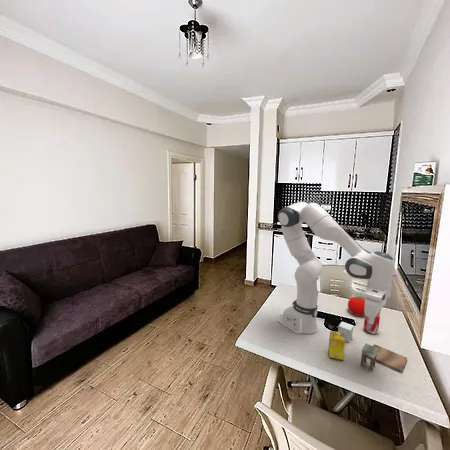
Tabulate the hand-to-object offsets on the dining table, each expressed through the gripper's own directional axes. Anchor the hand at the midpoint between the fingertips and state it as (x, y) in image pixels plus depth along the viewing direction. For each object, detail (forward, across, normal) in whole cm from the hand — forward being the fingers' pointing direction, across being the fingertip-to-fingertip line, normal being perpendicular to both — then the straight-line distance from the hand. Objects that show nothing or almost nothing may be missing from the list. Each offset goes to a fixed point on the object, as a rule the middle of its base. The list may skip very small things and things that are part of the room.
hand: (374, 319), depth 110 cm
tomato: (+23, -47, -19) cm, 56 cm away
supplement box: (+23, +4, -13) cm, 27 cm away
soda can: (+23, -31, -7) cm, 39 cm away
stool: (+23, 0, 0) cm, 23 cm away
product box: (+23, -14, -15) cm, 31 cm away
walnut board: (+23, -12, +5) cm, 26 cm away
